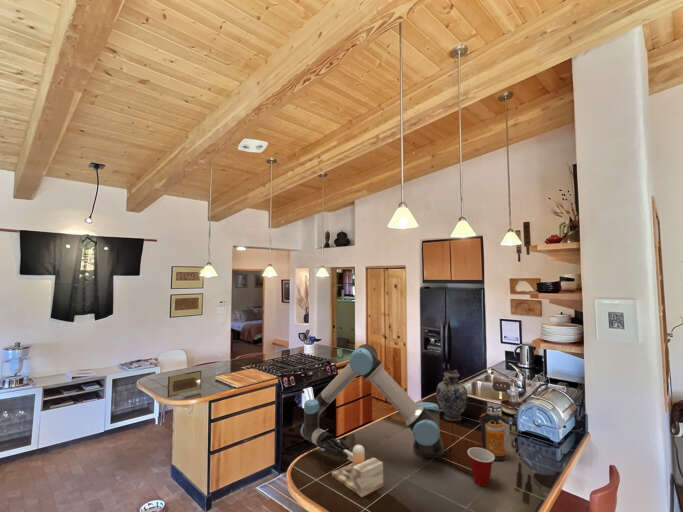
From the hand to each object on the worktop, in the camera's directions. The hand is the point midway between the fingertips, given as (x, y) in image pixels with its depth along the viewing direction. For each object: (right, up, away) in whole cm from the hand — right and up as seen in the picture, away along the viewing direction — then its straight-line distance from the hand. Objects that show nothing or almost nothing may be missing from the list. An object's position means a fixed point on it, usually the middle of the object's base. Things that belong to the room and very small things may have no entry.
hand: (354, 458), depth 153 cm
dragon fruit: (+79, -11, +49) cm, 94 cm away
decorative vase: (+63, -12, +64) cm, 90 cm away
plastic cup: (+54, -8, -5) cm, 55 cm away
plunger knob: (+2, -7, -3) cm, 8 cm away
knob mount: (+1, -9, -2) cm, 9 cm away
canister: (+68, -9, +17) cm, 70 cm away
